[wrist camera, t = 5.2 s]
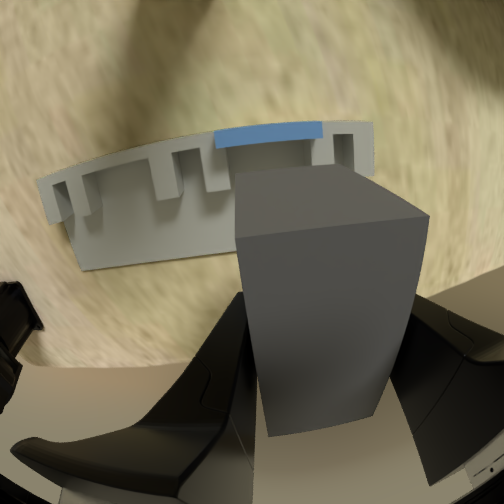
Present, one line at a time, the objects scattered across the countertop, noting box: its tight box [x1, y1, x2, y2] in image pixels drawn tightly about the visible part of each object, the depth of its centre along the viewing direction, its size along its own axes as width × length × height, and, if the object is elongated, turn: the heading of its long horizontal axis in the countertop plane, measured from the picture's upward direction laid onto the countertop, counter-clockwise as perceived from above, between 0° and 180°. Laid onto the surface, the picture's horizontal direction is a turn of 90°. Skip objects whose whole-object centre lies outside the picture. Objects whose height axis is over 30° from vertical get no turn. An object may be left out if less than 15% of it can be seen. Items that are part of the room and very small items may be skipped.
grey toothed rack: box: [36, 121, 374, 271], centre depth 18 cm, size 9×24×4 cm, turn 97°
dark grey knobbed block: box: [235, 164, 430, 437], centre depth 9 cm, size 10×4×6 cm, turn 7°
